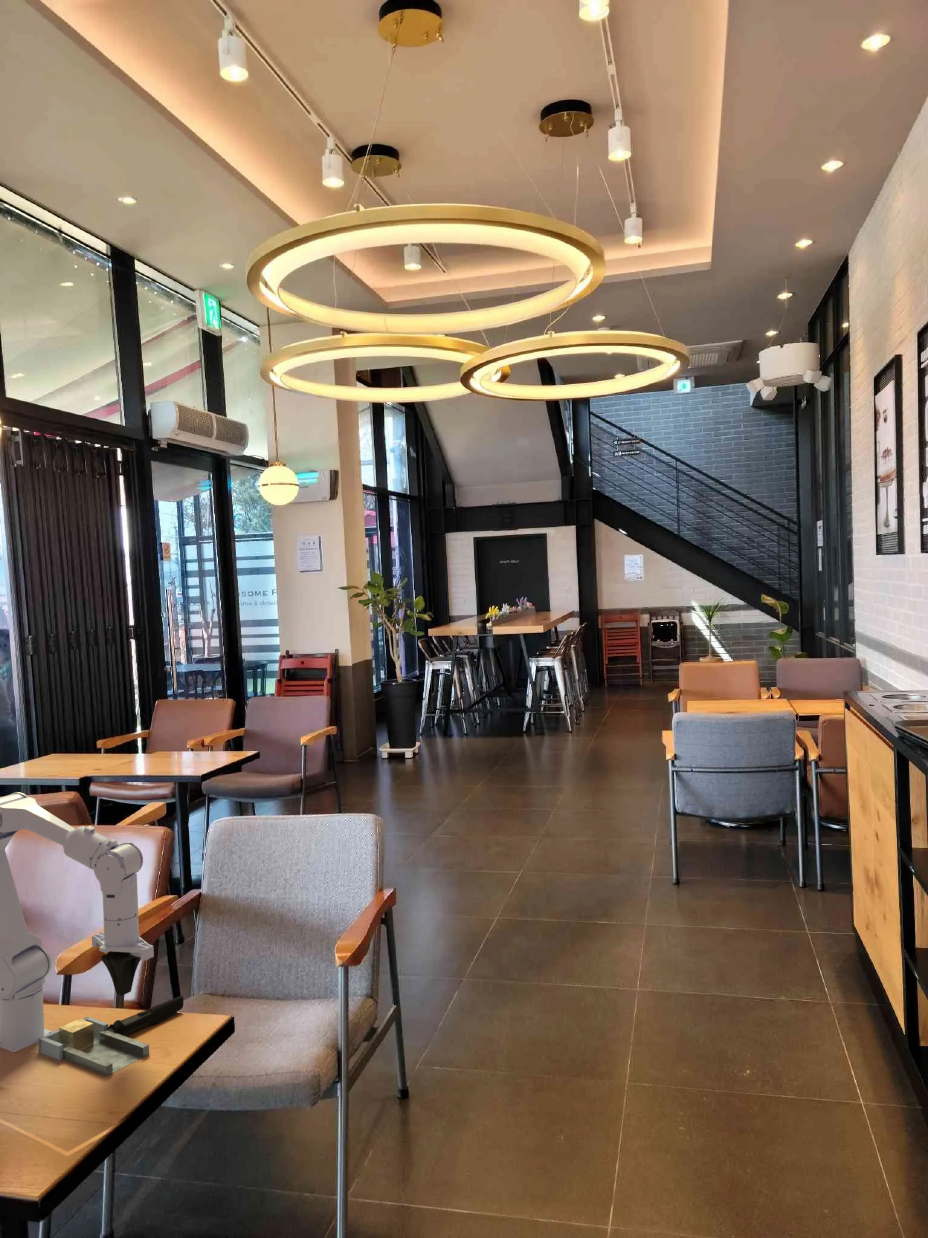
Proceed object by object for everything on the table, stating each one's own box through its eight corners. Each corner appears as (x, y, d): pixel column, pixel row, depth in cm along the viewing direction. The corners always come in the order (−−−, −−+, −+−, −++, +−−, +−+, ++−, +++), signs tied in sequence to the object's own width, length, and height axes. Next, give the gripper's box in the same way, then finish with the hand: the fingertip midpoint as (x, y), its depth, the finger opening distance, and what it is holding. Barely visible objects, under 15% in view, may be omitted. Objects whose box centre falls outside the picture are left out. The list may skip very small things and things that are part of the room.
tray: (39, 1055, 156) (38, 1038, 156) (88, 1032, 164) (87, 1016, 164) (59, 1063, 152) (58, 1046, 152) (108, 1040, 160) (108, 1023, 160)
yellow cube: (59, 1047, 157) (58, 1027, 157) (80, 1038, 160) (79, 1018, 160) (73, 1053, 155) (72, 1032, 155) (93, 1043, 158) (93, 1023, 158)
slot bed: (62, 1062, 153) (62, 1049, 153) (105, 1041, 160) (105, 1029, 160) (106, 1079, 146) (106, 1066, 146) (149, 1057, 153) (148, 1045, 153)
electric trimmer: (188, 1014, 170) (188, 997, 170) (114, 1045, 158) (114, 1027, 158) (176, 1009, 172) (176, 993, 172) (102, 1040, 160) (102, 1022, 160)
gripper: (75, 916, 157) (78, 993, 157) (127, 929, 149) (130, 1010, 149) (110, 904, 163) (113, 979, 163) (162, 916, 155) (165, 994, 155)
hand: (123, 993), depth 157 cm, fingers closed
